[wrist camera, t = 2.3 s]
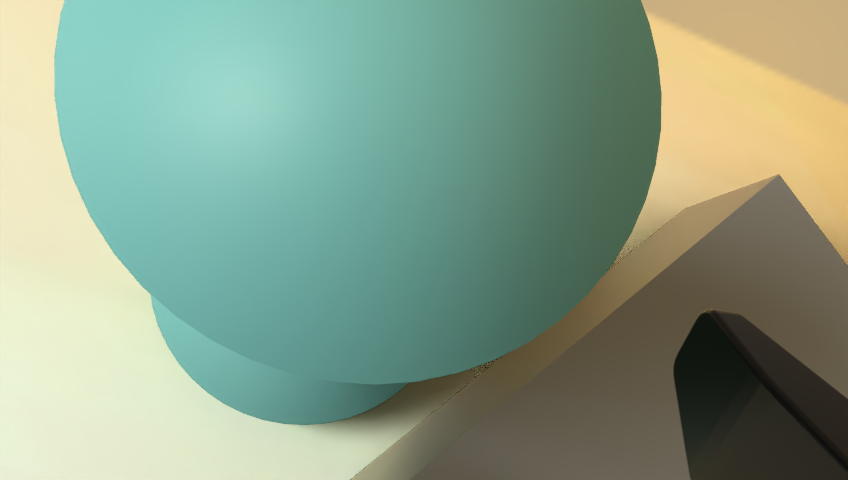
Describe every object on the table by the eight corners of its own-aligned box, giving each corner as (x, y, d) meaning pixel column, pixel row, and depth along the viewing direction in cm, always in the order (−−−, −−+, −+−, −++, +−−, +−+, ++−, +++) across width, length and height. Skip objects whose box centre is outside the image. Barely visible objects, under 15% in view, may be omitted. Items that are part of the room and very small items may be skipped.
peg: (462, 398, 18) (892, 494, 5) (171, 440, 17) (-144, 690, 4) (426, 127, 19) (732, -340, 6) (145, 148, 18) (-185, -383, 5)
